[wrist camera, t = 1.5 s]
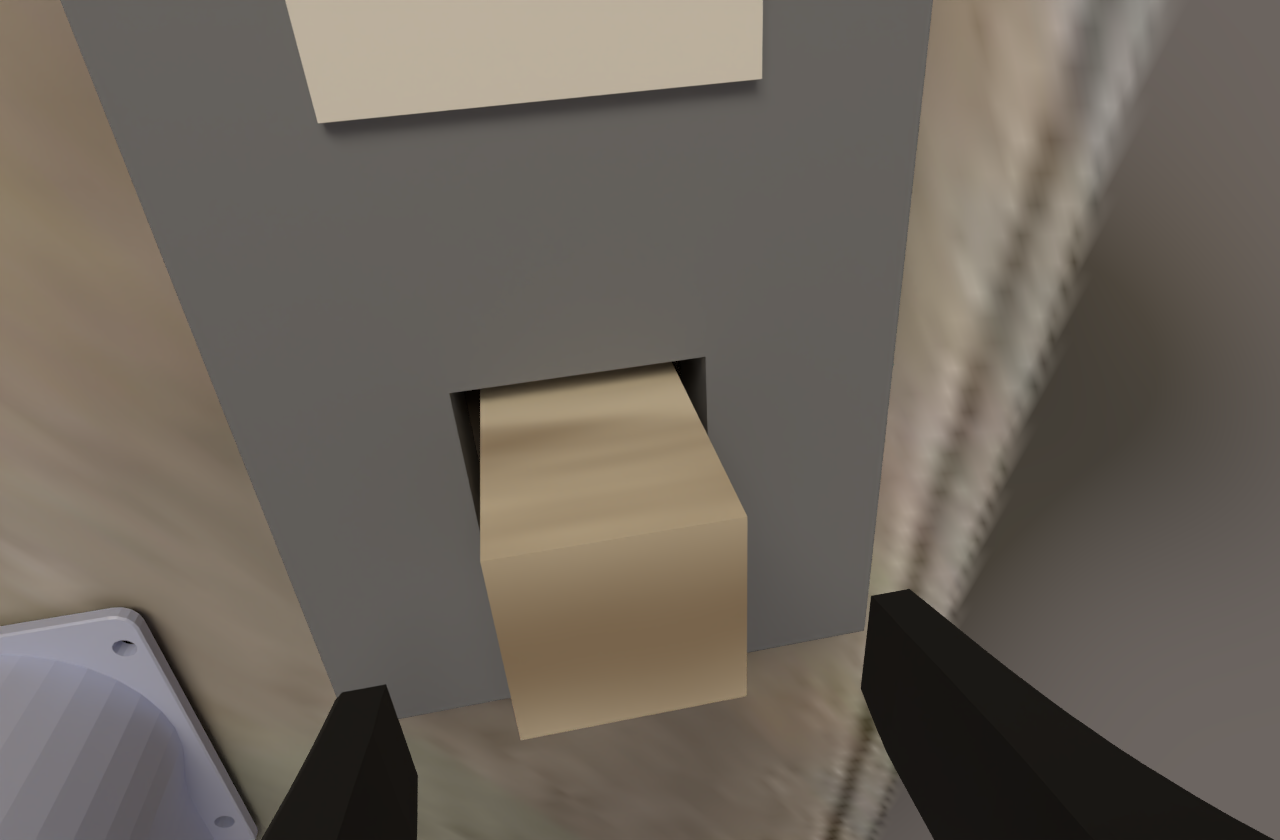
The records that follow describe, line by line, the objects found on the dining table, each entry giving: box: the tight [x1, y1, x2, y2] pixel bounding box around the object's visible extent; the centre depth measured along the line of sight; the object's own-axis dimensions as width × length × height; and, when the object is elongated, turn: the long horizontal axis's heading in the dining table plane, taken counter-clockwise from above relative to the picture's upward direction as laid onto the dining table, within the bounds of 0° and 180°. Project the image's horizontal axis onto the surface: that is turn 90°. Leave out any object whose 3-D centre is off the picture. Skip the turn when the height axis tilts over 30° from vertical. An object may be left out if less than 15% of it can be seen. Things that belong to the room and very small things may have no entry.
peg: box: [480, 362, 747, 740], centre depth 15 cm, size 4×4×7 cm
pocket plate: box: [60, 0, 933, 719], centre depth 15 cm, size 22×13×3 cm, turn 4°
